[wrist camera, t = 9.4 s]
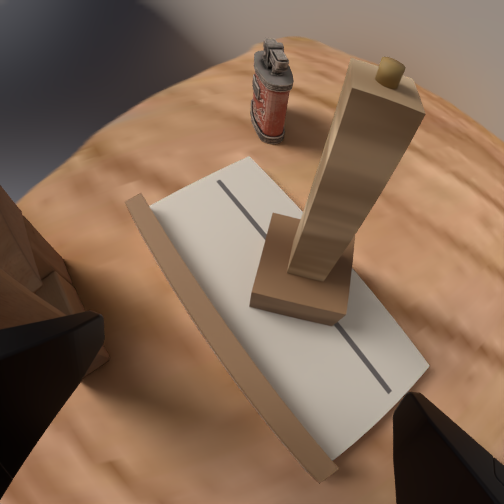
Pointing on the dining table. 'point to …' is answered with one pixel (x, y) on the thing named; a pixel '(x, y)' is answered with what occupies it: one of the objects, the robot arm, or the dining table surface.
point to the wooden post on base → (339, 196)
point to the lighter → (270, 91)
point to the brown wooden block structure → (33, 276)
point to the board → (276, 318)
